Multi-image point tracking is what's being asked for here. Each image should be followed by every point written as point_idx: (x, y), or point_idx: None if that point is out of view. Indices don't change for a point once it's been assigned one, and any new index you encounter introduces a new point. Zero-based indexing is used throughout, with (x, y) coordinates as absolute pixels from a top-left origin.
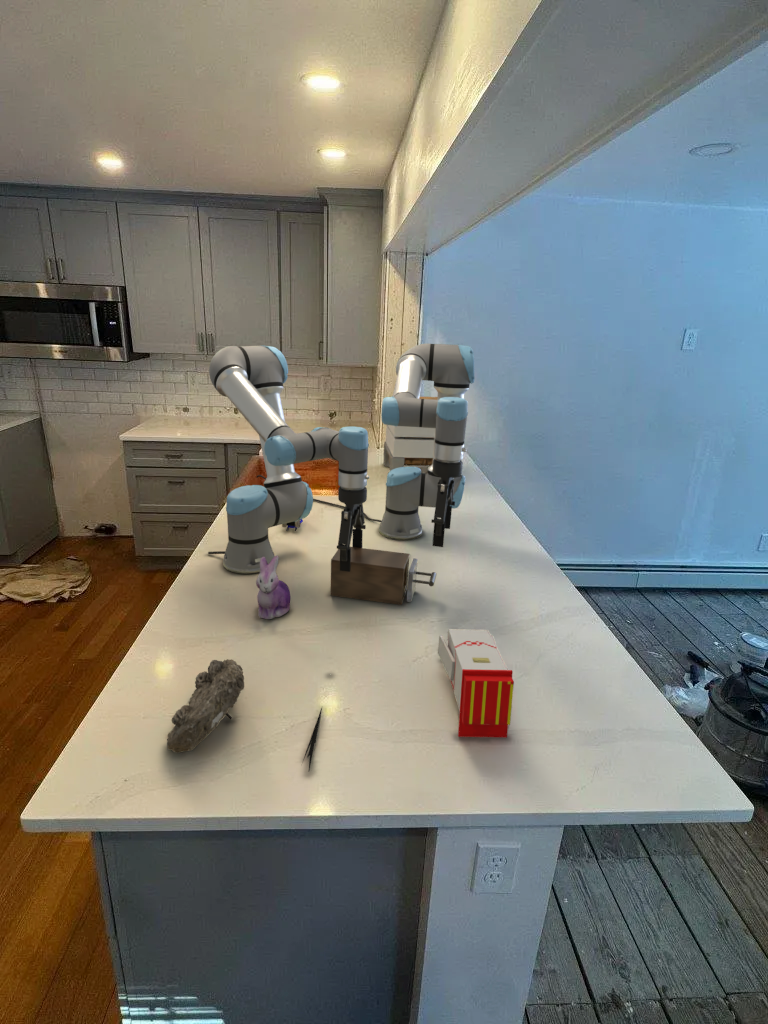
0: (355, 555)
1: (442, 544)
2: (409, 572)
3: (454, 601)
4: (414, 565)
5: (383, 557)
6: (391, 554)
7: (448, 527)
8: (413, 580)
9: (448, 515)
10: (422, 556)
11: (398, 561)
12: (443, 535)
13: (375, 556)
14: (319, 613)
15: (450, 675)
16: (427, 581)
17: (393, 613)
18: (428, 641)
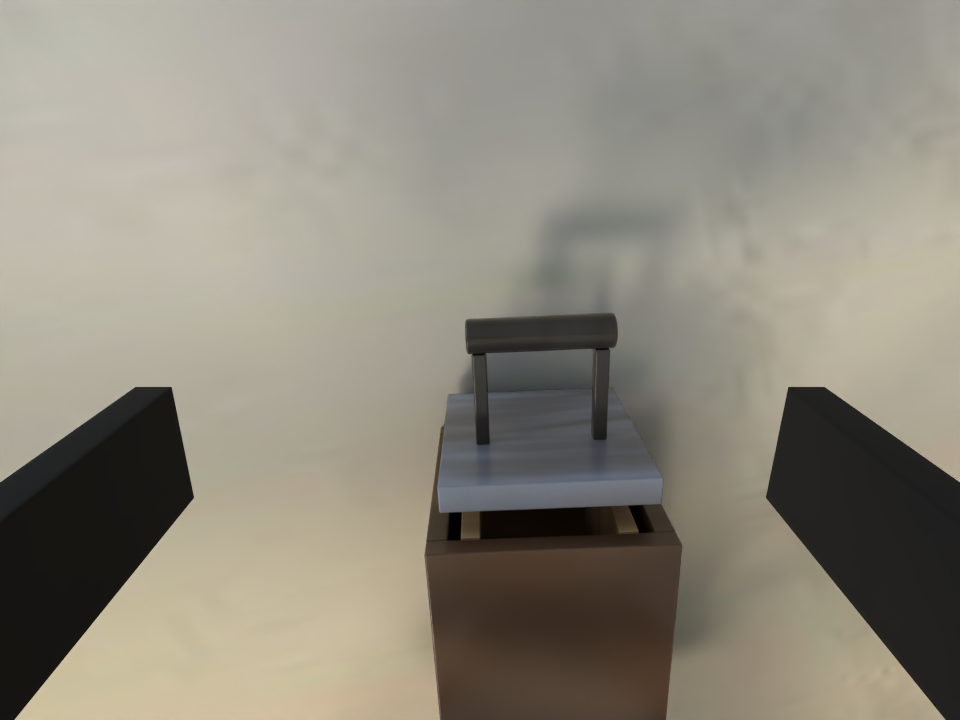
0: None
1: (845, 410)
2: (660, 495)
3: (504, 165)
4: (557, 487)
5: (544, 677)
6: (482, 648)
7: (164, 412)
8: (605, 438)
9: (47, 531)
10: (21, 422)
11: (579, 593)
12: (937, 475)
13: (544, 715)
14: (754, 677)
15: None
16: (600, 358)
17: (703, 437)
18: (939, 241)
